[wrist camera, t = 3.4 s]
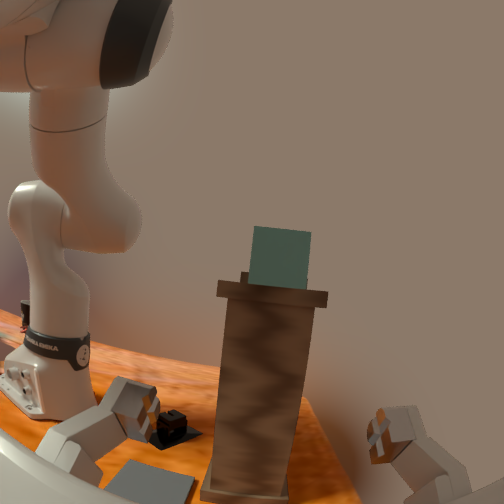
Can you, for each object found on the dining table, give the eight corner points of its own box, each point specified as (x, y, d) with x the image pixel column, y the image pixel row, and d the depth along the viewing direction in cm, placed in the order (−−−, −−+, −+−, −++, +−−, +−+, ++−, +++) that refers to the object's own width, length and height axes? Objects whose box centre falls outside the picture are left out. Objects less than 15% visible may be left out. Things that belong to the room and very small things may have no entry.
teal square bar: (247, 283, 17) (254, 225, 18) (258, 284, 39) (261, 259, 39) (305, 289, 17) (311, 232, 17) (283, 287, 39) (286, 261, 39)
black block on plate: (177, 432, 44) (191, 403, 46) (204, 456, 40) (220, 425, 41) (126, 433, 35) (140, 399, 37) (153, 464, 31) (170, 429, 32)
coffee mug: (22, 327, 71) (23, 299, 72) (43, 331, 76) (44, 303, 77) (16, 335, 61) (16, 304, 62) (40, 339, 66) (40, 308, 67)
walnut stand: (199, 500, 23) (219, 268, 26) (217, 446, 37) (235, 274, 40) (285, 509, 22) (329, 280, 25) (281, 453, 36) (307, 282, 39)
